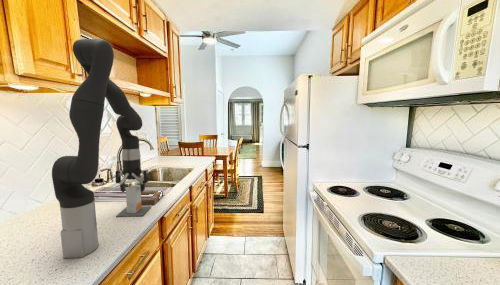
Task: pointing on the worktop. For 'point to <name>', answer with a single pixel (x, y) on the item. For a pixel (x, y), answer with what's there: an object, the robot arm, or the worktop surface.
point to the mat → (137, 214)
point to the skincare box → (133, 199)
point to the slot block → (151, 200)
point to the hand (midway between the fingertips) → (133, 191)
